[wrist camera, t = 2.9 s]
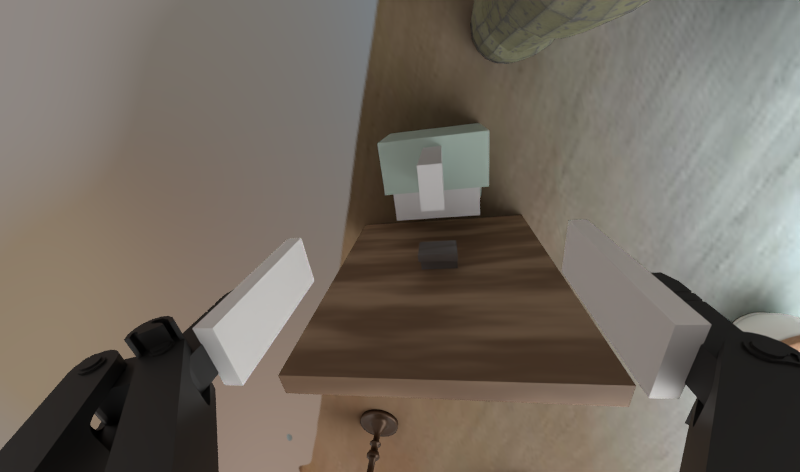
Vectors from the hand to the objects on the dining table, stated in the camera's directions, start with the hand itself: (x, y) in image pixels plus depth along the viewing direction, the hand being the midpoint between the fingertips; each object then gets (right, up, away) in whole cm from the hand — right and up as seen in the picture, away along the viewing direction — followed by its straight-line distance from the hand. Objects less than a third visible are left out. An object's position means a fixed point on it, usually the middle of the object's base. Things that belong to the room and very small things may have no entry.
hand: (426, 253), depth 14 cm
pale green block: (+4, +11, +26) cm, 29 cm away
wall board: (+5, +2, +31) cm, 31 cm away
